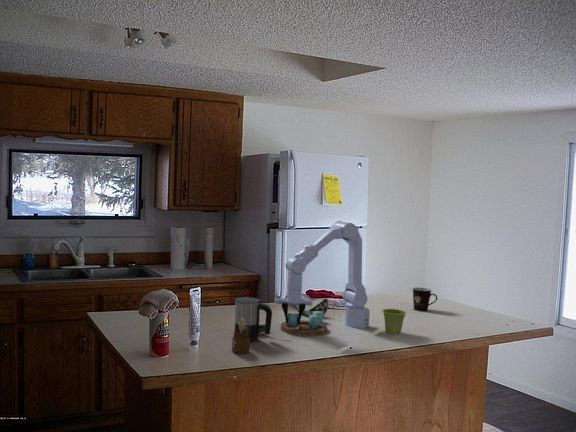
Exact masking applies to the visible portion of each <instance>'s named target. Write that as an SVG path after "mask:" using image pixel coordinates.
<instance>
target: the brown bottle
mask: <svg viewBox="0 0 576 432" xmlns="http://www.w3.org/2000/svg"><path fill="white" fill-rule="evenodd" d="M240 321H241V325H240ZM242 321H243V323H242ZM244 321H246V320H244V319H241V320H240V319H239V329H240V328H241V329H240V330H235V329H234V330H233V336H232V343H231V350H232V351H231V352H232V353H234V354H238V355H243V354H248V353H249V352H250V343H251V342H250V339H249V332H248V331H247V330H245V329H244V330H242V328H244V327H246V326H244Z"/></svg>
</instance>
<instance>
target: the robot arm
mask: <svg viewBox="0 0 576 432" xmlns="http://www.w3.org/2000/svg"><path fill="white" fill-rule="evenodd" d="M341 239H342V240H343V241H345V243H346V244H348V266H347V267H348V271H347V272H348V274H347V275H348V276H347V277H348V281H347V283H346V284H345V287H344V288H345V289H344V291H343V295H342V297H343V300H344V301H345V315H344V326H346V327H349V328H356V329H362V330H364V329H366V328H368V327H369V326H370V313H371V312H370V309H369V308H368V307H365V306H366V305H367V302H368V295H367V293H366V288H365V286H364V284H363V282H362V281H363V280H362V278H363V275H362V274H363V238H362V236H361V233H360V231H359V227H358V226H356V224H354V223H353V222H346V221H345V222H344V221H341V220H337V221H335V222H334V223H333V224H332V225H330V227H329V228H328V229H327V231H326V232H324V233H323V234H322V235H321V236H320V237H319V238H318V239H317V240H316V241H315V242H314V243H313V244H308V245H304V246H303V249H302V250H300V251H299V252H298V253H295V254H294V256H293V257H289V259H287V262H286V263H285V265H284V266H285V268H286V270H287V283H286V284H287V285H286V297H281V298H277V297H276V298H275V299H274V304H275V305H281V308H282V311H283V314H284V318H285V322H286V323H288V313H289V310H288V309H289V305H291V306H292V305H296V306H298V307H299V312H298V324H300V320H302V315H304V314H303V312H304V310H305V307H306V306H305V305H309V306H312V302H313V301H312V300H309V299H304V298H302V291H303V289H302V288H303V273H304V272H305V271H306V268H307V266H308V265H309V264H310V263H312V261H314V260H315V259H316V258H317V257H318V256H319V251H321V250H322V249H324V247H326V246H327V245H328V244H330V243H331V242H332V241H333V240H341Z"/></svg>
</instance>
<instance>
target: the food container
mask: <svg viewBox="0 0 576 432" xmlns="http://www.w3.org/2000/svg"><path fill="white" fill-rule="evenodd" d="M308 300H312V301H313V302H312V306H309V305H305V306H306V307H305V310H304V312H303V314H302V315H304V316H308V317H309V316H310V315H313V312H314V311H320V312H323V317H324V316H325V315H326V313H327V312H328V310H329V309H328V308H329V299H328V298H326V297H325V298H309V299H308ZM296 311H297V313H299V306H298V307H297V308H296Z"/></svg>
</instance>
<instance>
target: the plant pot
mask: <svg viewBox="0 0 576 432" xmlns="http://www.w3.org/2000/svg"><path fill="white" fill-rule="evenodd" d="M382 312H383V318H384V330H385V333H386V334H388V335H389V334H390V335H400V334H402V328H403V324H404V319H405V316H406V314H407V311H405V310H403V309H396V308H385V309H382Z"/></svg>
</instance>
